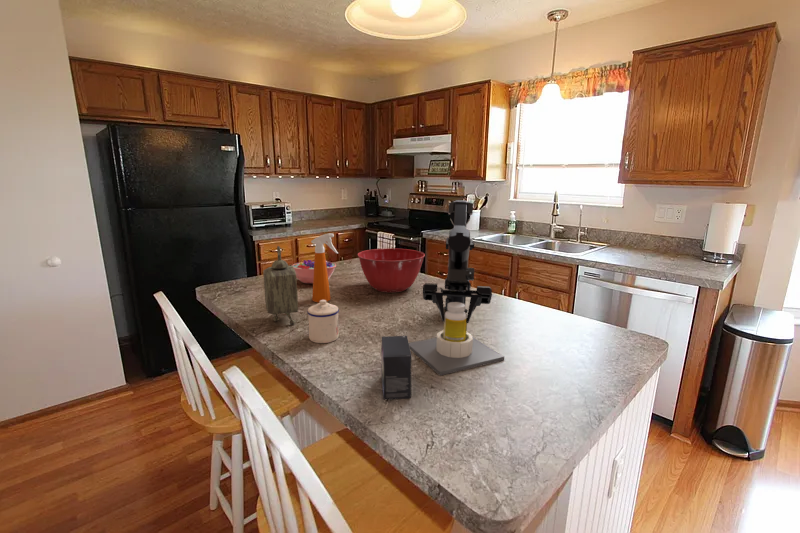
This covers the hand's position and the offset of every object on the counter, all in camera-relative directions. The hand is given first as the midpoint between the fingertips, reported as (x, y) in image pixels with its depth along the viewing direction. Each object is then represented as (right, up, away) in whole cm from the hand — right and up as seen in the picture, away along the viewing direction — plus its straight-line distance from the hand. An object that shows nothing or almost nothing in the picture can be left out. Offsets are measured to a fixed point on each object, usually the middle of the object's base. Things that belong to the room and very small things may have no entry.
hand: (455, 321), depth 102 cm
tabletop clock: (-54, -3, +25) cm, 60 cm away
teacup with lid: (-38, -6, +13) cm, 41 cm away
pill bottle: (0, -6, +3) cm, 7 cm away
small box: (-16, -13, -14) cm, 25 cm away
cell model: (-53, +7, +71) cm, 89 cm away
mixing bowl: (-19, +5, +64) cm, 67 cm away
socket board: (0, -9, +3) cm, 10 cm away
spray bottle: (-44, +2, +47) cm, 64 cm away
